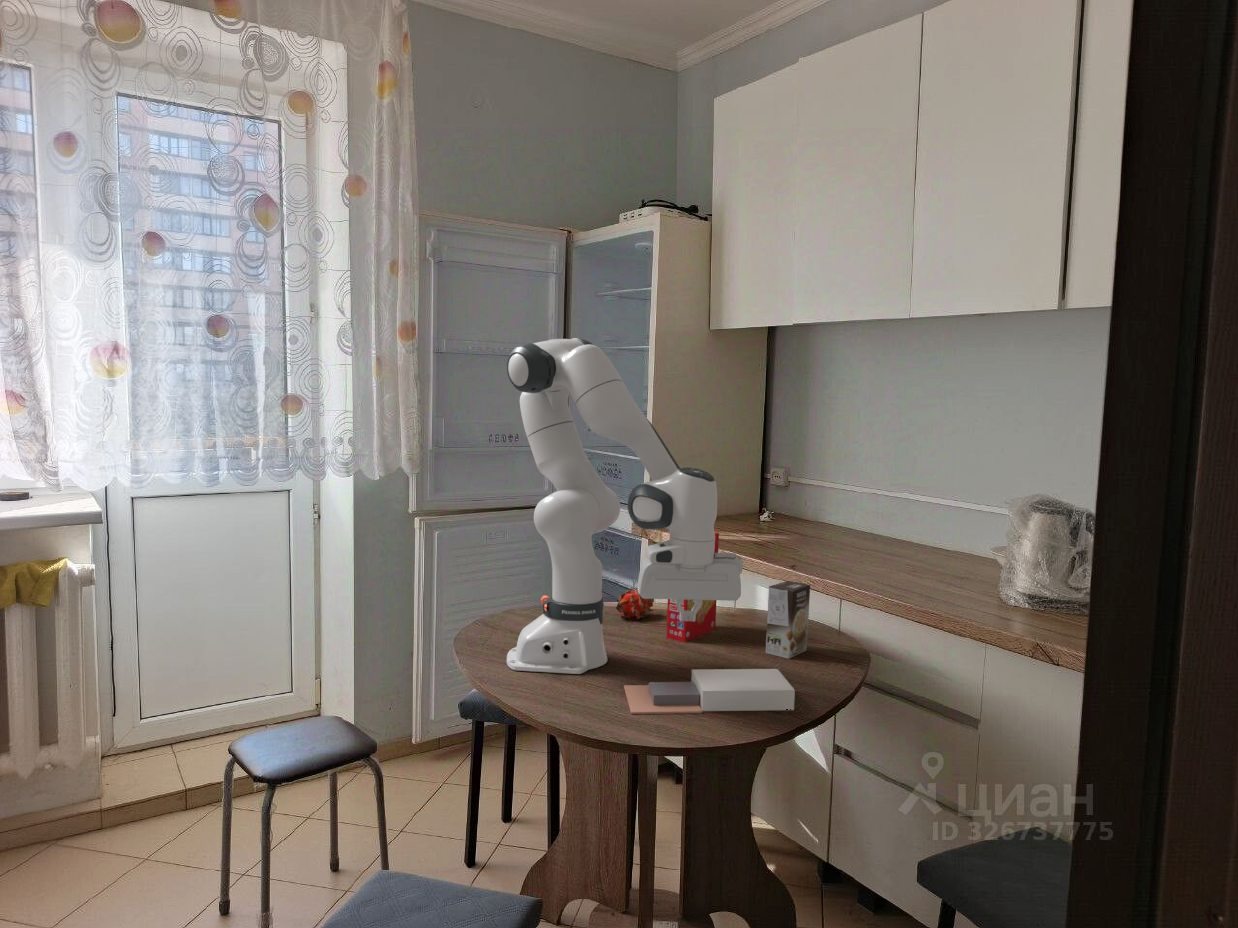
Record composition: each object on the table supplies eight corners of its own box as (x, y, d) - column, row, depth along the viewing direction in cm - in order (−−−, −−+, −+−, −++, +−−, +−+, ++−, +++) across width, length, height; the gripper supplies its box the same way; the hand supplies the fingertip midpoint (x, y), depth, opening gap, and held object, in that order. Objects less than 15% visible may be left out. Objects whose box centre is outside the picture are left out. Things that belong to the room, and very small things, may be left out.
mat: (631, 714, 158) (631, 711, 158) (623, 687, 171) (624, 685, 171) (702, 713, 159) (702, 711, 159) (689, 686, 173) (689, 684, 173)
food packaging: (684, 642, 203) (687, 540, 200) (666, 637, 206) (669, 537, 203) (715, 628, 214) (718, 532, 212) (697, 624, 218) (701, 530, 215)
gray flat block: (653, 705, 161) (653, 695, 161) (648, 691, 168) (648, 682, 168) (699, 704, 162) (699, 694, 162) (692, 691, 169) (692, 681, 169)
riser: (702, 711, 160) (703, 690, 160) (691, 688, 172) (691, 669, 171) (793, 709, 162) (794, 689, 161) (776, 687, 174) (777, 668, 173)
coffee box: (789, 659, 192) (792, 591, 190) (764, 653, 196) (767, 586, 194) (807, 650, 199) (810, 584, 197) (783, 644, 203) (786, 579, 201)
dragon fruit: (656, 620, 226) (619, 633, 220) (639, 597, 231) (603, 609, 225) (665, 600, 221) (627, 613, 214) (648, 577, 226) (611, 588, 219)
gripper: (739, 549, 167) (735, 616, 169) (638, 546, 165) (634, 614, 167) (747, 556, 161) (742, 626, 162) (642, 553, 159) (638, 624, 160)
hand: (687, 620), depth 164 cm, fingers closed
